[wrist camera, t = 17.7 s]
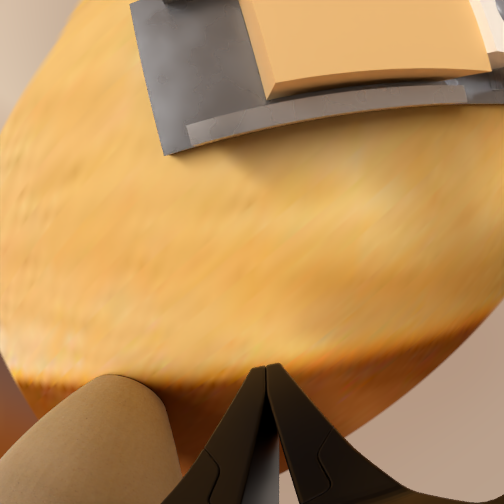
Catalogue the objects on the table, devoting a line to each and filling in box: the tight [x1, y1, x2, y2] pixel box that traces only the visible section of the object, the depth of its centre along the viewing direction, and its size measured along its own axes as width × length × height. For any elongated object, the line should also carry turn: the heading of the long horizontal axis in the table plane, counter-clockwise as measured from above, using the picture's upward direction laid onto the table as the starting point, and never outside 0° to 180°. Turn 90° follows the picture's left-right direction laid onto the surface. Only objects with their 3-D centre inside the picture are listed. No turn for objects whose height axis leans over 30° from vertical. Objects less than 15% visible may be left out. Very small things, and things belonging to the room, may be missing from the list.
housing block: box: [469, 0, 504, 69], centre depth 11 cm, size 5×5×6 cm
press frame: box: [130, 0, 504, 156], centre depth 11 cm, size 25×10×7 cm, turn 104°
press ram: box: [238, 0, 492, 100], centre depth 11 cm, size 11×7×5 cm, turn 104°
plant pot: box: [0, 375, 182, 504], centre depth 16 cm, size 15×15×16 cm
